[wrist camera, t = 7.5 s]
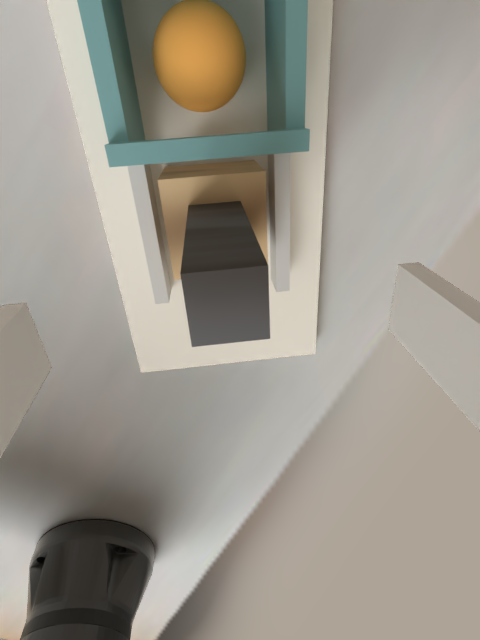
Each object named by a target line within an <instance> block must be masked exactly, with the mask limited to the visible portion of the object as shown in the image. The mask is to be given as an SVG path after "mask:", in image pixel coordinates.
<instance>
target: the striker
mask: <svg viewBox="0 0 480 640" xmlns="http://www.w3.org/2000/svg"><path fill="white" fill-rule="evenodd" d="M157 181H158V187H159V193H160V199H161V205H162V211H163V216H164V222H165V228H166V234H167V240H168V246H169V252H170V258H171V264H172V270H173V276H174V280H178V279H181V282H182V288H183V294H184V301H185V307H186V313H187V320H188V326H189V332H190V338H191V345H192V347H198V346H207V345H217V344H226V343H235V342H245V341H254V340H264V339H270V310H269V272H268V247H267V209H266V171H265V170H264V169H263V168H262V167H261V166H260V165H259V164H258V163H257V162H256V161H255V160H245V161H233V162H221V163H208V164H196V165H184V166H172V167H165V168H164V169H163V171H162V173H161V174H160V176H159V178H158V180H157Z"/></svg>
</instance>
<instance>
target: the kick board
mask: <svg viewBox="0 0 480 640" xmlns="http://www.w3.org/2000/svg"><path fill="white" fill-rule="evenodd" d="M181 1H183V0H121V4H122V9H123V15H124V21H125V26H126V32H127V38H128V43H129V49H130V55H131V61H132V66H133V72H134V78H135V83H136V89H137V95H138V100H139V106H140V112H141V118H142V123H143V129H144V135H145V140H157V139H170V138H183V137H196V136H208V135H221V134H234V133H247V132H260V131H267V91H266V47H265V3H264V0H209V1H212V2H214V3H216V4H218V5H219V6H221V7H222V8H224V9H225V10H226V11H227V12H228V13H229V14H230V15H231V17H232V18H233V19H234V21H235V22H236V24H237V26H238V27H239V30H240V32H241V34H242V37H243V41H244V45H245V51H246V67H245V73H244V77H243V80H242V83H241V85H240V87H239V89H238V91H237V92H236V94H235V95H234V97H233V98H232V99H231V100H230V101H229V102H228V103H227V104H225V105H224V106H222V107H221V108H219V109H216V110H214V111H210V112H194V111H191V110H188V109H185V108H183V107H182V106H180V105H178V104H177V103H176V102H174V101H173V100H172V99H171V98H170V97H169V96H168V94H167V93H166V92H165V90H164V89H163V87H162V86H161V84H160V82H159V80H158V77H157V74H156V71H155V67H154V62H153V41H154V36H155V32H156V30H157V27H158V25H159V23H160V21H161V19H162V17H163V16H164V15H165V14H166V12H167V11H168V10H169V9H170V8H171V7H173V6H174V5H175V4H177V3H179V2H181ZM46 2H47V6H48V10H49V14H50V18H51V22H52V26H53V29H54V33H55V37H56V41H57V45H58V49H59V53H60V57H61V61H62V65H63V69H64V73H65V77H66V80H67V84H68V88H69V92H70V96H71V100H72V104H73V108H74V112H75V116H76V120H77V124H78V128H79V131H80V135H81V139H82V143H83V147H84V151H85V155H86V159H87V163H88V167H89V171H90V175H91V179H92V183H93V186H94V190H95V194H96V198H97V202H98V206H99V210H100V214H101V218H102V222H103V226H104V230H105V234H106V237H107V241H108V245H109V249H110V253H111V257H112V261H113V265H114V269H115V273H116V277H117V281H118V285H119V288H120V292H121V296H122V300H123V304H124V308H125V312H126V316H127V320H128V324H129V328H130V332H131V336H132V339H133V343H134V347H135V351H136V355H137V359H138V363H139V367H140V371H141V373H144V372H153V371H162V370H171V369H180V368H190V367H199V366H208V365H217V364H226V363H236V362H245V361H254V360H263V359H272V358H282V357H291V356H300V355H309V354H315V353H316V333H317V313H318V293H319V274H320V254H321V234H322V214H323V194H324V174H325V154H326V134H327V114H328V95H329V75H330V55H331V35H332V15H333V0H308V16H307V59H306V101H305V128H307V129H310V142H309V151H306V152H293V153H281V154H269V155H256V156H244V157H232V158H219V159H207V160H195V161H182V162H170V163H158V164H145V165H133V166H121V167H109V163H108V159H107V155H106V150H105V146H104V145H106V144H108V143H109V142H108V138H107V133H106V129H105V124H104V120H103V115H102V110H101V106H100V101H99V97H98V92H97V88H96V83H95V79H94V74H93V70H92V65H91V61H90V56H89V52H88V47H87V43H86V38H85V34H84V29H83V25H82V20H81V16H80V11H79V7H78V2H77V0H46ZM245 160H255V161H256V162H257V163H258V164H259V165H260V166H261V167H262V168H263V169H264V170H265V171H266V209H267V247H268V272H269V310H270V339H264V340H254V341H245V342H235V343H226V344H217V345H207V346H198V347H192V345H191V338H190V332H189V326H188V320H187V313H186V307H185V301H184V294H183V288H182V282H181V279H178V280H174V276H173V270H172V264H171V258H170V252H169V246H168V240H167V234H166V228H165V222H164V216H163V211H162V205H161V199H160V193H159V187H158V181H157V180H158V178H159V176H160V174H161V173H162V171H163V169H164V168H165V167H172V166H184V165H196V164H208V163H221V162H233V161H245Z"/></svg>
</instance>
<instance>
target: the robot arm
mask: <svg viewBox="0 0 480 640" xmlns="http://www.w3.org/2000/svg"><path fill="white" fill-rule="evenodd" d="M388 330H389V331H390V332H391V333H392V334H393V335H394V337H395V338H396V339H397V340H398V341H399V342H400V343H401V344H402V345H403V347H404V348H405V349H406V350H407V351H408V352H409V353H410V354H411V355H412V357H413V358H414V359H415V360H416V361H417V362H418V363H419V364H420V365H421V367H422V368H423V369H424V370H425V371H426V372H427V373H428V374H429V375H430V376H431V378H432V379H433V380H434V381H435V382H436V383H437V384H438V385H439V387H440V388H441V389H442V390H443V391H444V392H445V393H446V394H447V395H448V397H449V398H450V399H451V400H452V401H453V402H454V403H455V404H456V405H457V406H458V408H459V409H460V410H461V411H462V412H463V413H464V414H465V415H466V417H467V418H468V419H469V420H470V421H471V422H472V423H473V424H474V425H475V426H476V428H477V429H478V430H479V431H480V302H478V301H477V300H475V299H474V298H472V297H470V296H469V295H467V294H466V293H464V292H463V291H461V290H460V289H458V288H457V287H455V286H454V285H452V284H451V283H449V282H448V281H446V280H445V279H443V278H442V277H440V276H438V275H437V274H436V273H434V272H433V271H431V270H430V269H428V268H427V267H425V266H424V265H422V264H420V263H419V262H416V263H406V264H398V269H397V276H396V282H395V288H394V295H393V301H392V307H391V314H390V320H389V326H388ZM51 368H52V367H51V365H50V362H49V359H48V357H47V354H46V352H45V349H44V347H43V344H42V342H41V339H40V337H39V334H38V332H37V329H36V327H35V324H34V322H33V319H32V317H31V314H30V312H29V309H28V307H27V304H26V303H19V304H9V305H3V306H1V307H0V458H1V457H2V455H3V453H4V451H5V450H6V448H7V446H8V444H9V442H10V441H11V439H12V437H13V435H14V434H15V432H16V430H17V428H18V427H19V425H20V423H21V421H22V420H23V418H24V416H25V414H26V412H27V411H28V409H29V407H30V405H31V404H32V402H33V400H34V398H35V397H36V395H37V393H38V391H39V390H40V388H41V386H42V384H43V382H44V381H45V379H46V377H47V375H48V374H49V372H50V370H51ZM154 554H155V550H154V546H153V543H152V542H151V540H150V539H149V538H148V537H147V536H146V535H145V534H144V533H142V532H141V531H139V530H137V529H135V528H133V527H131V526H128V525H125V524H122V523H118V522H113V521H105V520H84V521H76V522H71V523H67V524H64V525H61V526H58V527H56V528H54V529H52V530H50V531H49V532H47V533H46V534H45V535H44V536H43V537H42V538H41V539H40V540H39V542H38V543H37V546H36V548H35V551H34V554H33V557H32V559H31V562H30V568H29V585H28V604H27V619H26V623H25V626H24V629H23V632H22V635H21V638H20V640H130V636H131V629H132V623H133V620H134V617H135V615H136V612H137V610H138V607H139V605H140V602H141V600H142V597H143V595H144V592H145V590H146V587H147V585H148V582H149V580H150V577H151V575H152V571H153V564H154ZM0 640H6V639H0Z"/></svg>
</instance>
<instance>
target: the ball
mask: <svg viewBox="0 0 480 640" xmlns="http://www.w3.org/2000/svg"><path fill="white" fill-rule="evenodd" d="M153 62H154V67H155V71H156V74H157V77H158V80H159V82H160V84H161V86H162V87H163V89H164V90H165V92H166V93H167V94H168V96H169V97H170V98H171V99H172V100H173V101H174V102H176V103H177V104H178V105H180V106H182V107H183V108H185V109H188V110H191V111H194V112H210V111H214V110H216V109H219V108H221V107H222V106H224V105H225V104H227V103H228V102H229V101H230V100H231V99H232V98H233V97H234V95H235V94H236V92H237V91H238V89H239V87H240V85H241V83H242V80H243V77H244V73H245V67H246V51H245V45H244V41H243V37H242V34H241V32H240V30H239V27H238V26H237V24H236V22H235V21H234V19H233V18H232V17H231V15H230V14H229V13H228V12H227V11H226V10H225V9H224V8H222V7H221V6H219V5H218V4H216V3H214V2H212V1H209V0H183V1H181V2H179V3H177V4H175V5H174V6H173V7H171V8H170V9H169V10H168V11H167V12H166V14H165V15H164V16H163V17H162V19H161V21H160V23H159V25H158V27H157V30H156V32H155V36H154V41H153Z"/></svg>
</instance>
